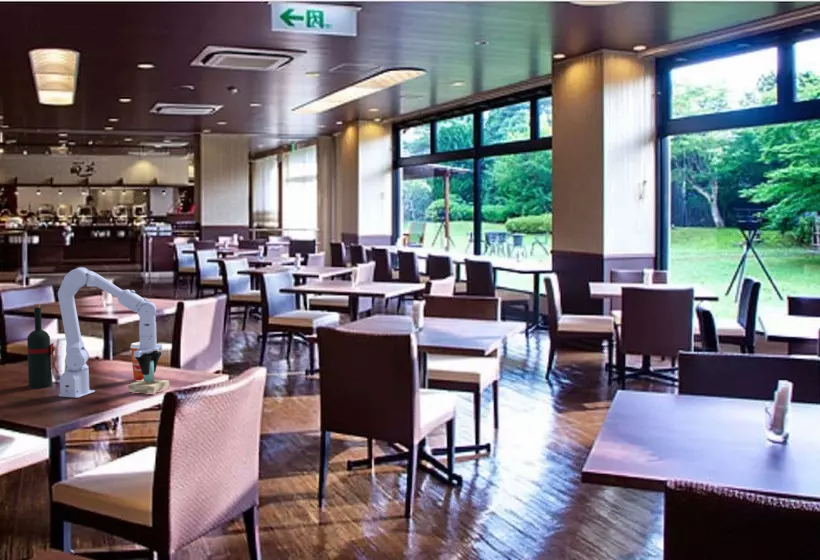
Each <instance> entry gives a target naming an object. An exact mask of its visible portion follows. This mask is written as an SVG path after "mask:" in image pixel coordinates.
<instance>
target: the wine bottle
mask: <svg viewBox="0 0 820 560" xmlns="http://www.w3.org/2000/svg"><path fill="white" fill-rule="evenodd" d="M33 308H34V309H33V310H34V312H33V313H34V330H32V331H31V332H30V333H29V334H28V336H27V338H26V339H27V340H26V341H27V343H26V345H27V371H28V374H27V375H28V388H29V387H30V388H29V389H47V388H49V387H52V386H53V378H52V377H53V375H52V363H53V368H54V370H55V372H56V373H57V374H60V373H59V370H58V369H57V367H56V362H55V357H54V354H55V349H56V348H55V346H54V342H53V343H52V342H51V337H50V334H49V333H48V332H47V331H45V330H44V329H42V328H43V327H42V309H41V304H40V303H35V304H34V307H33Z"/></svg>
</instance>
